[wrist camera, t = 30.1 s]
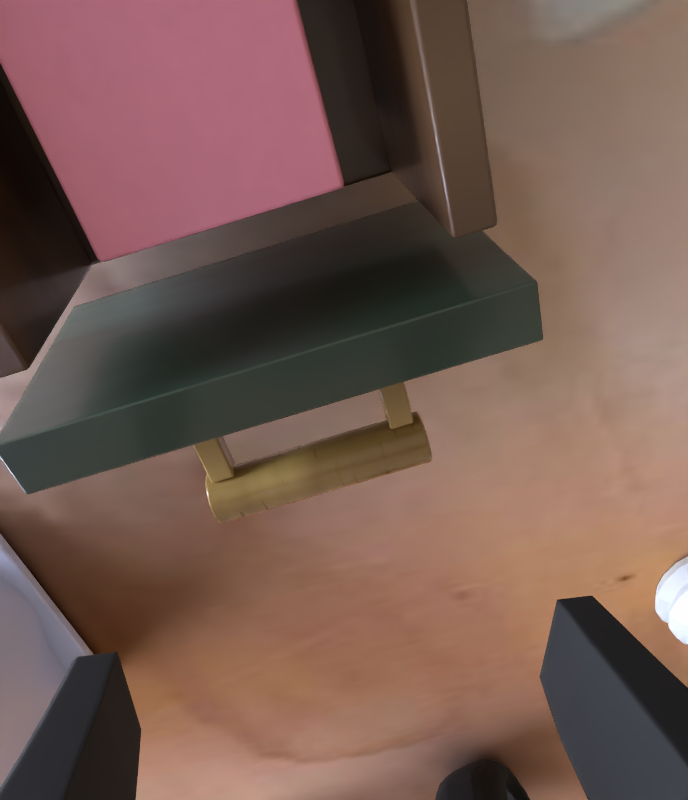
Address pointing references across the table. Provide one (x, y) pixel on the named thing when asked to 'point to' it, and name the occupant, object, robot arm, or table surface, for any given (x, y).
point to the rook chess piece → (674, 599)
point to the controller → (481, 783)
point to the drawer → (274, 288)
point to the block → (170, 111)
